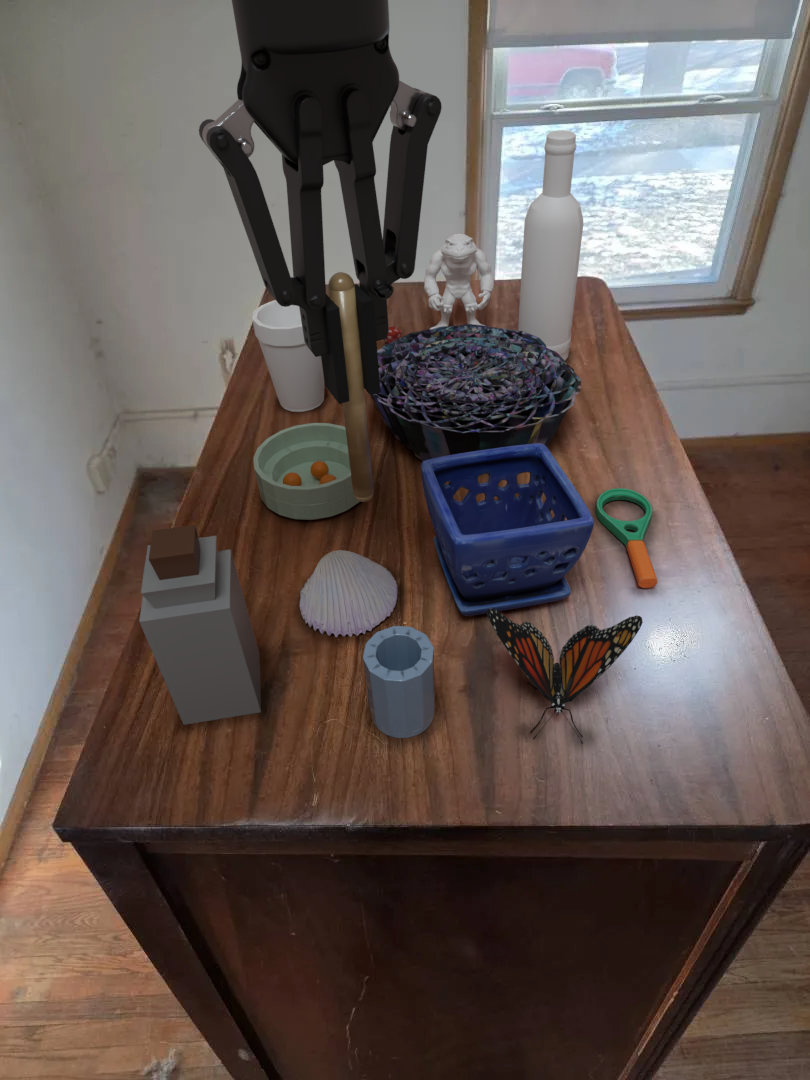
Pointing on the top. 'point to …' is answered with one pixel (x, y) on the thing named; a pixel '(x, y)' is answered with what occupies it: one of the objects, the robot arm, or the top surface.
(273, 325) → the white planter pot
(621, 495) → the magnifying glass
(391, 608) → the seashell
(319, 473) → the bead
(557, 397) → the decorative bowl
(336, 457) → the bowl
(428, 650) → the holder
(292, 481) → the bead
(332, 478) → the bead
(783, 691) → the top surface
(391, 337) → the die
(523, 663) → the butterfly
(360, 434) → the stick
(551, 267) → the bottle
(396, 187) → the robot arm
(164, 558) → the perfume bottle
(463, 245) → the figurine
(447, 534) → the flower pot
